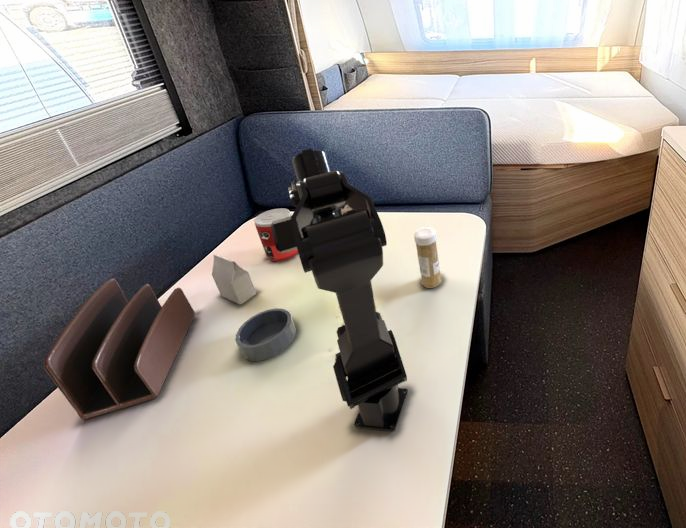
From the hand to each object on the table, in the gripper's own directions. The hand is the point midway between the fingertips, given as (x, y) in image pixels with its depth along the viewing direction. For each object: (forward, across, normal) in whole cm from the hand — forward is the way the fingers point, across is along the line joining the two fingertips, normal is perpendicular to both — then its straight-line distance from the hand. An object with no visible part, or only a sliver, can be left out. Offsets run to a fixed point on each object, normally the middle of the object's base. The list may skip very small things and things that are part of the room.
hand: (328, 233), depth 84 cm
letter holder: (+6, +35, +12) cm, 37 cm away
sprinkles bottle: (0, -17, +18) cm, 25 cm away
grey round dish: (+1, +15, +17) cm, 22 cm away
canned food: (+21, +10, -4) cm, 24 cm away
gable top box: (+14, +20, +4) cm, 25 cm away
